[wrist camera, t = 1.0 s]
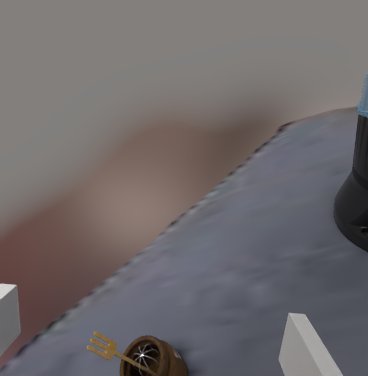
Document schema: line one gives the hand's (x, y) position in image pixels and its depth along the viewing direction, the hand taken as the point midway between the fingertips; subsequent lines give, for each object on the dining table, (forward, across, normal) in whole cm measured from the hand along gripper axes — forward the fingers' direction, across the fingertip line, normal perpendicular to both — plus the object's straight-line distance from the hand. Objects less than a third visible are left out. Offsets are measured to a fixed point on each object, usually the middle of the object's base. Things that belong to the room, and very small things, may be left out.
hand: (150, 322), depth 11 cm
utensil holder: (+13, +1, -20) cm, 24 cm away
